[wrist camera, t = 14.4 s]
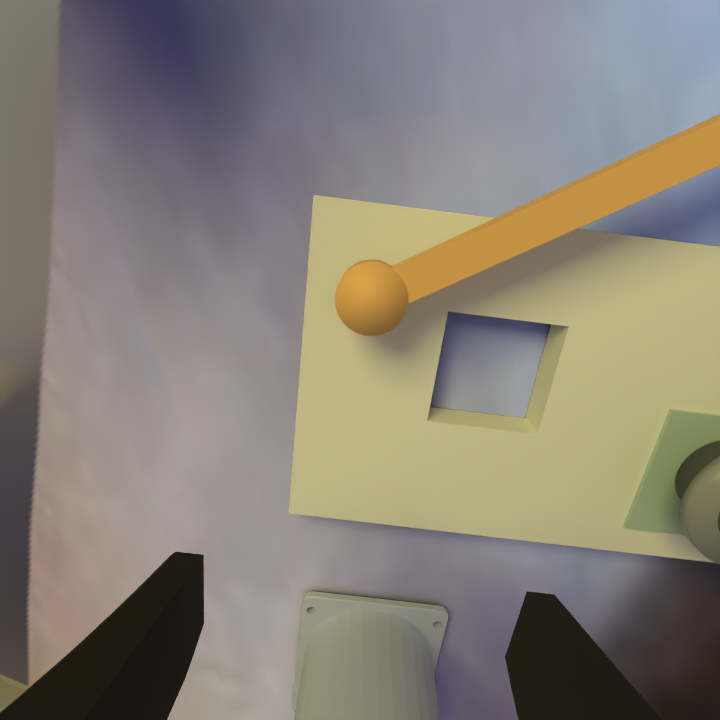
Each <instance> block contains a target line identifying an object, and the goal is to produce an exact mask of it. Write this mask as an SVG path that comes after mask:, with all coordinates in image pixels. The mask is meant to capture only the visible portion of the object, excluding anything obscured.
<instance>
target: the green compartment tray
mask: <svg viewBox="0 0 720 720" xmlns="http://www.w3.org/2000/svg"><path fill="white" fill-rule="evenodd" d="M27 689H28V686H26V685H24V684H22V683H20V682H17V681H15V680H12V679H10V678H8V677H6V676H3V675H1V674H0V712H1V711H2V710H4V709H5V708H6V707H7V706H8V705H10V704H11V703H12V702H13V701H14V700H16V699H17V698H18V697H19V696H20V695H22V694H23V693H24V692H25V691H26V690H27Z"/></svg>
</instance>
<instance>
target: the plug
mask: <svg viewBox="0 0 720 720" xmlns="http://www.w3.org/2000/svg"><path fill="white" fill-rule="evenodd" d="M675 489H676V493H677V495H678V497H679V498H680V499H681V500H682V501H681V504H680V511H679V520H680V525H681V528H682V531H683V533H684V535H685V536H686V538H687V539H688V540H689V541H690V542H691V543H692V544H693V545H694V546H695V547H696V548H697V549H698V550H699V551H700V552H701V553H702V554H703V555H704V556H705V557H706V558H708V559H709V560H711V561H713V562H715V563H717V564H720V440H719V441H715V442H712V443H709V444H707V445H704V446H702V447H701V448H699V449H697V450H696V451H694V452H693V453H692V454H691V455H689V456H688V457H687V458H686V459H685V461H684V462H683V463H682V465H681V466H680V468H679V470H678V472H677V475H676V478H675Z"/></svg>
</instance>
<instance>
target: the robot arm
mask: <svg viewBox="0 0 720 720" xmlns="http://www.w3.org/2000/svg"><path fill="white" fill-rule="evenodd" d="M311 607H313V608H311ZM437 621H439V622H437ZM447 622H448V611H447V609H446V608H445V607H443V606H440V605H431V604H422V603H413V602H404V601H395V600H387V599H378V598H369V597H360V596H351V595H342V594H334V593H325V592H316V591H310V592H307V593H306V594H305V595H304V598H303V606H302V616H301V626H300V636H299V646H298V656H297V666H296V676H295V686H294V696H293V706H292V707H293V710H294V711H295V718H294V720H440V713H439V706H438V699H437V692H436V685H435V678H434V673H435V669H436V666H437V662H438V658H439V654H440V650H441V646H442V642H443V638H444V634H445V630H446V626H447ZM203 624H204V567H203V555H200V554H191V553H182V552H175V553H173V554H172V555H171V556H170V557H169V558H168V559H167V560H166V561H165V562H164V563H163V564H162V565H161V566H160V567H159V568H158V569H157V570H156V571H155V572H154V573H153V574H152V575H151V576H150V577H149V578H148V579H147V580H146V581H145V582H144V583H143V584H142V585H141V586H140V587H139V588H138V589H137V590H136V591H135V592H134V593H133V594H132V595H131V596H130V597H128V598H127V599H126V600H125V601H124V602H123V603H122V604H121V605H120V606H119V607H118V608H117V609H116V610H115V611H114V612H113V613H112V614H111V615H110V616H109V617H108V618H107V619H105V620H104V621H103V622H102V623H101V624H100V625H99V626H98V627H97V628H96V629H95V630H94V631H93V632H92V633H90V634H89V635H88V636H87V637H86V638H85V639H84V640H83V641H82V642H81V643H80V644H79V645H78V646H76V647H75V648H74V649H73V650H72V651H71V652H70V653H69V654H68V655H66V656H65V657H64V658H63V659H62V660H61V661H59V662H58V663H57V664H56V665H55V666H54V667H53V668H51V669H50V670H49V671H48V672H47V673H46V674H45V675H43V676H42V677H41V678H40V679H39V680H38V681H37V682H35V683H34V684H33V685H32V686H31V687H30V688H28V689H27V690H26V691H25V692H24V693H23V694H22V695H20V696H19V697H18V698H17V699H16V700H14V701H13V702H12V703H11V704H10V705H8V706H7V707H6V708H5V709H4V710H2V711H1V712H0V720H167V718H168V716H169V714H170V711H171V709H172V707H173V705H174V702H175V700H176V698H177V696H178V693H179V691H180V689H181V686H182V684H183V682H184V680H185V677H186V674H187V671H188V669H189V666H190V663H191V660H192V657H193V654H194V651H195V648H196V645H197V642H198V639H199V636H200V633H201V630H202V627H203ZM505 658H506V663H507V668H508V673H509V678H510V683H511V688H512V693H513V697H514V702H515V706H516V711H517V715H518V718H519V720H662V719H661V718H660V717H659V716H658V714H657V713H656V712H655V711H654V710H653V709H652V708H651V707H650V706H649V704H648V703H647V702H646V701H645V700H644V699H643V698H642V697H641V695H640V694H639V693H638V692H637V691H636V690H635V689H634V687H633V686H632V685H631V684H630V683H629V682H628V681H627V679H626V678H625V677H624V676H623V675H622V674H621V672H620V671H619V670H618V669H617V668H616V667H615V665H614V664H613V663H612V662H611V661H610V660H609V658H608V657H607V656H606V655H605V654H604V653H603V651H602V650H601V649H600V648H599V647H598V646H597V644H596V643H595V642H594V641H593V640H592V638H591V637H590V636H589V635H588V634H587V633H586V631H585V630H584V629H583V628H582V627H581V625H580V624H579V623H578V622H577V621H576V619H575V618H574V617H573V616H572V615H571V614H570V612H569V611H568V610H567V609H566V608H565V607H564V605H563V604H562V603H561V602H560V601H559V600H558V598H557V597H556V596H555V595H553V594H544V593H535V592H527V593H526V596H525V599H524V602H523V605H522V608H521V611H520V614H519V617H518V620H517V623H516V626H515V629H514V632H513V635H512V638H511V641H510V644H509V647H508V650H507V653H506V656H505Z"/></svg>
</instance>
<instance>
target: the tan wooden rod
mask: <svg viewBox="0 0 720 720" xmlns="http://www.w3.org/2000/svg"><path fill="white" fill-rule="evenodd" d="M719 165H720V114H719V115H717V116H714V117H712V118H710V119H708V120H706V121H704V122H701V123H699V124H697V125H695V126H693V127H691V128H689V129H686V130H684V131H682V132H680V133H678V134H676V135H673V136H671V137H669V138H667V139H665V140H663V141H660V142H658V143H656V144H654V145H652V146H650V147H647V148H645V149H643V150H641V151H639V152H637V153H635V154H632V155H630V156H628V157H626V158H624V159H622V160H619V161H617V162H615V163H613V164H611V165H609V166H606V167H604V168H602V169H600V170H598V171H596V172H593V173H591V174H589V175H587V176H585V177H583V178H581V179H578V180H576V181H574V182H572V183H570V184H568V185H565V186H563V187H561V188H559V189H557V190H555V191H552V192H550V193H548V194H546V195H544V196H542V197H539V198H537V199H535V200H533V201H531V202H529V203H527V204H524V205H522V206H520V207H518V208H516V209H514V210H511V211H509V212H507V213H505V214H503V215H501V216H498V217H496V218H494V219H492V220H490V221H488V222H485V223H483V224H481V225H479V226H477V227H475V228H473V229H470V230H468V231H466V232H464V233H462V234H460V235H457V236H455V237H453V238H451V239H449V240H447V241H444V242H442V243H440V244H438V245H436V246H434V247H431V248H429V249H427V250H425V251H423V252H421V253H419V254H416V255H414V256H412V257H410V258H408V259H406V260H403V261H401V262H399V263H397V264H395V265H393V266H391V265H389V264H387V263H385V262H383V261H380V260H371V259H370V260H364V261H360V262H358V263H356V264H354V265H353V266H351V267H350V268H349V269H348V270H347V271H346V272H345V273H344V275H343V276H342V278H341V280H340V282H339V284H338V286H337V289H336V293H335V307H336V311H337V313H338V316H339V317H340V319H341V321H342V322H343V323H344V324H345V325H346V326H347V327H348V328H349V329H350V330H352V331H354V332H356V333H358V334H361V335H365V336H378V335H382V334H385V333H387V332H389V331H391V330H392V329H394V328H395V327H396V326H397V325H398V324H399V323H400V322H401V320H402V319H403V317H404V315H405V313H406V310H407V306H408V303H411V302H413V301H415V300H417V299H420V298H422V297H424V296H426V295H429V294H431V293H433V292H435V291H438V290H440V289H442V288H444V287H447V286H449V285H451V284H453V283H456V282H458V281H460V280H462V279H465V278H467V277H469V276H471V275H474V274H476V273H478V272H480V271H483V270H485V269H487V268H489V267H492V266H494V265H496V264H498V263H501V262H503V261H505V260H507V259H510V258H512V257H514V256H516V255H519V254H521V253H523V252H525V251H528V250H530V249H532V248H534V247H537V246H539V245H541V244H543V243H546V242H548V241H550V240H552V239H555V238H557V237H559V236H561V235H564V234H566V233H568V232H570V231H573V230H575V229H577V228H579V227H582V226H584V225H586V224H588V223H591V222H593V221H595V220H597V219H600V218H602V217H604V216H606V215H609V214H611V213H613V212H615V211H618V210H620V209H622V208H624V207H627V206H629V205H631V204H633V203H636V202H638V201H640V200H642V199H645V198H647V197H649V196H651V195H654V194H656V193H658V192H660V191H663V190H665V189H667V188H669V187H672V186H674V185H676V184H678V183H681V182H683V181H685V180H687V179H690V178H692V177H694V176H696V175H699V174H701V173H703V172H705V171H708V170H710V169H712V168H714V167H717V166H719Z"/></svg>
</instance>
